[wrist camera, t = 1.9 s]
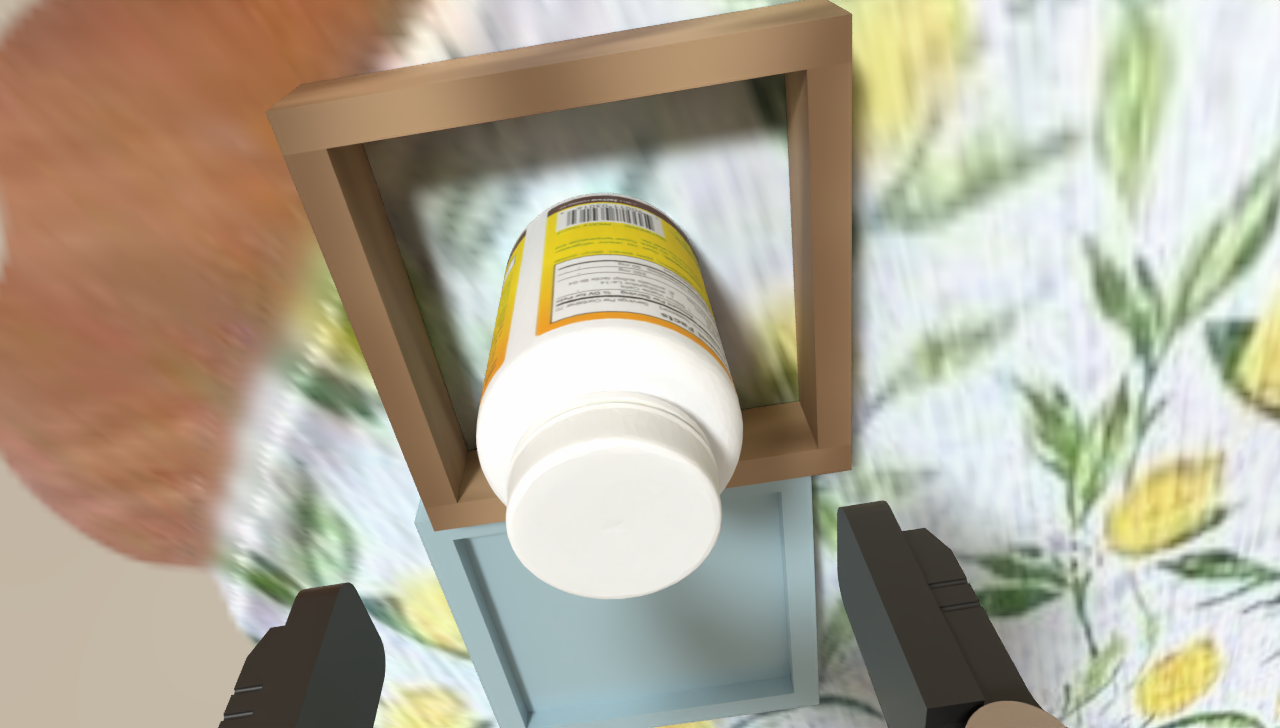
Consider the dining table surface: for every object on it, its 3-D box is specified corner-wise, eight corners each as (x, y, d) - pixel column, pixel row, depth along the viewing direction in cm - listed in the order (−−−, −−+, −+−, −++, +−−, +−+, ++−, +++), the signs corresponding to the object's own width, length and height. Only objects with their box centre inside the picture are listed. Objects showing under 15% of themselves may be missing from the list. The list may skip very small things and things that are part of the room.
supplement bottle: (580, 387, 25) (576, 666, 16) (466, 253, 22) (389, 503, 13) (733, 298, 23) (819, 552, 15) (631, 144, 21) (663, 344, 12)
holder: (822, -3, 19) (852, 13, 17) (830, 420, 26) (851, 469, 24) (300, 84, 19) (265, 111, 17) (446, 478, 26) (434, 531, 24)
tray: (801, 436, 26) (810, 464, 25) (811, 674, 33) (819, 704, 32) (421, 493, 27) (414, 522, 26) (511, 716, 34) (508, 747, 33)
